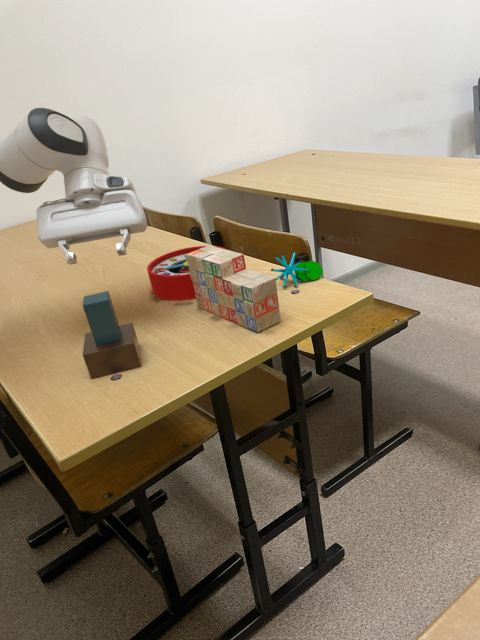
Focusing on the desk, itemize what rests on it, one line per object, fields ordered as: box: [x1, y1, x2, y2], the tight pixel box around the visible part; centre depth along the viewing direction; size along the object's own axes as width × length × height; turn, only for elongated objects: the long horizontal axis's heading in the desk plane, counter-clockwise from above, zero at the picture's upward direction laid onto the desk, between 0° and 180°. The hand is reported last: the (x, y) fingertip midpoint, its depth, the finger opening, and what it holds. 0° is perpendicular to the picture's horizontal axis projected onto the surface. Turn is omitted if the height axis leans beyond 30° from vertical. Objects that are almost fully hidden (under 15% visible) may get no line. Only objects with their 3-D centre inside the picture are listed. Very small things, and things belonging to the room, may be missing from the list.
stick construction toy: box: [270, 252, 324, 289], centre depth 120 cm, size 12×7×8 cm
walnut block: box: [82, 322, 142, 380], centre depth 97 cm, size 9×9×5 cm
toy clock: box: [146, 245, 228, 302], centre depth 127 cm, size 20×6×20 cm
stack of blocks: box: [186, 245, 282, 333], centre depth 106 cm, size 21×6×12 cm, turn 40°
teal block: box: [82, 290, 121, 346], centre depth 94 cm, size 4×4×8 cm
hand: (96, 258), depth 99 cm, fingers open, 8 cm apart
